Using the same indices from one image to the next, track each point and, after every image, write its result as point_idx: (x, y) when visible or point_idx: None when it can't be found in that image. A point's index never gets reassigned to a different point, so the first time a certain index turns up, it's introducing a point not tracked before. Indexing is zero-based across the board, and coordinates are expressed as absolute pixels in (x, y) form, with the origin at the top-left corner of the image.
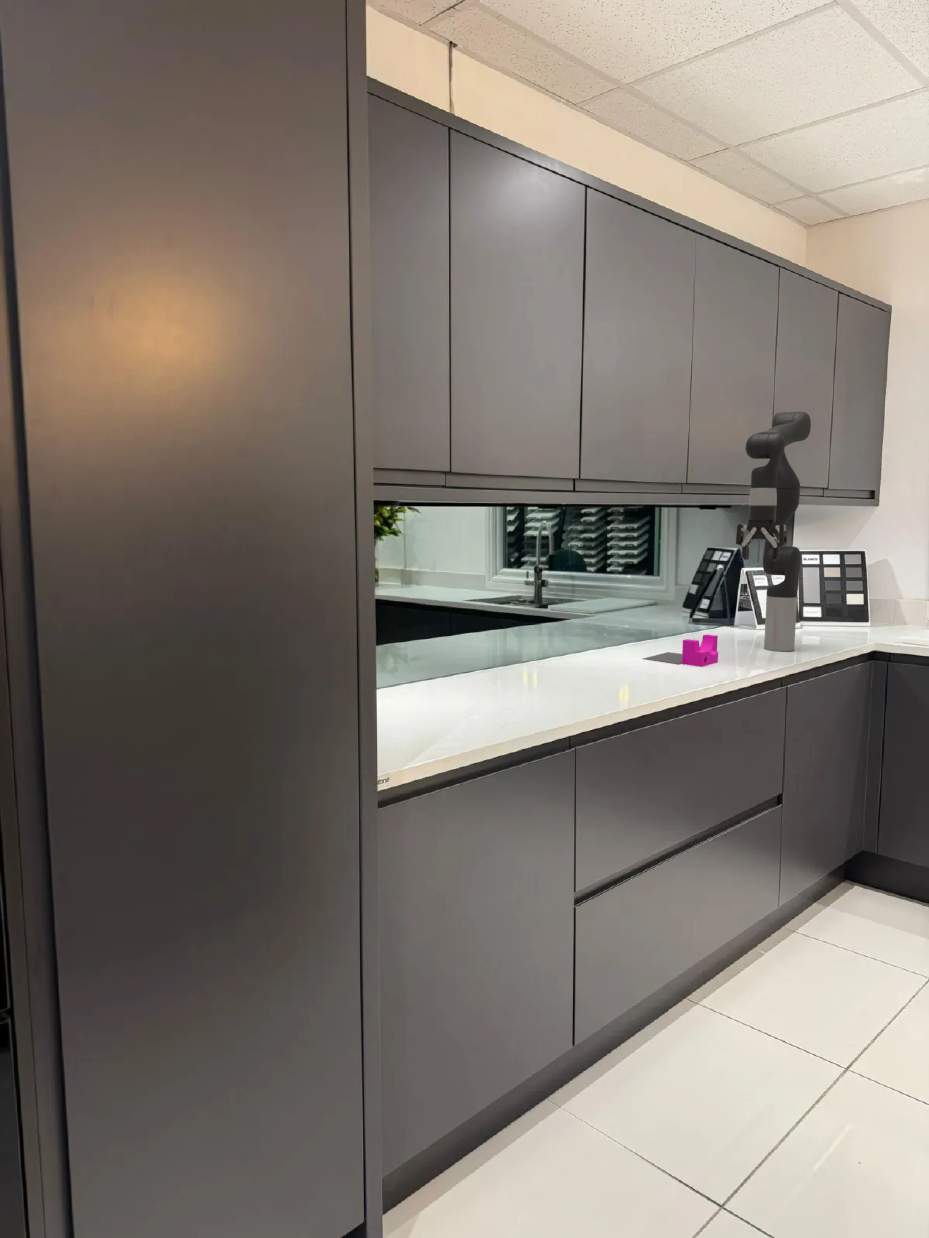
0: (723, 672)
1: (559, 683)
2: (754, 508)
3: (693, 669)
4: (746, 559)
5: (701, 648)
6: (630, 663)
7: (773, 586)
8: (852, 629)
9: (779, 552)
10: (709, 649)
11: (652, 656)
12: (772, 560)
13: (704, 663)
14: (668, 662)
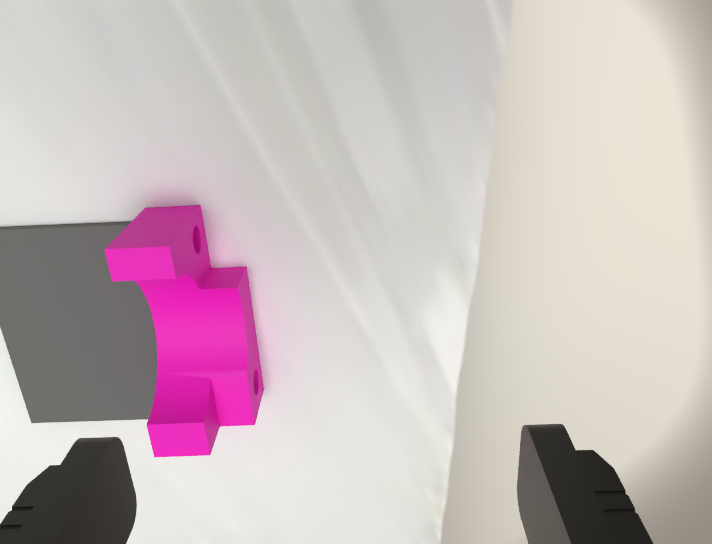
0: (366, 415)
1: None
2: None
3: (263, 434)
4: (131, 492)
5: (151, 287)
6: None
7: None
8: None
9: (644, 527)
10: (191, 286)
11: (16, 360)
12: (521, 497)
13: (259, 380)
14: (142, 418)
